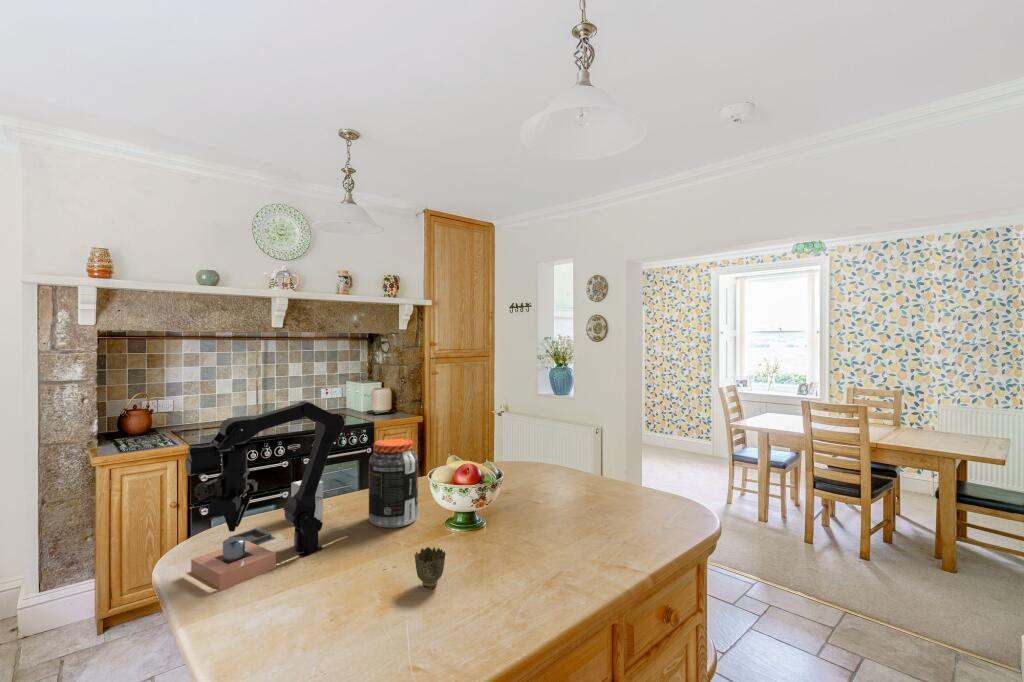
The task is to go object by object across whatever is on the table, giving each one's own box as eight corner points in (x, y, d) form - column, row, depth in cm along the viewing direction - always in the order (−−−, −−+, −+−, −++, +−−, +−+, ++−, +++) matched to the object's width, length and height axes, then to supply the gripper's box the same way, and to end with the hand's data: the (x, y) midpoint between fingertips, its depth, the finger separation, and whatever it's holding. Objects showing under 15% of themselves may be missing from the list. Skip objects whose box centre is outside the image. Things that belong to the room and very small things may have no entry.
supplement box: (302, 526, 159) (302, 486, 158) (290, 520, 163) (290, 482, 163) (323, 519, 165) (323, 481, 164) (311, 514, 169) (311, 477, 169)
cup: (431, 596, 117) (431, 562, 117) (407, 588, 121) (408, 555, 121) (451, 583, 124) (451, 551, 123) (428, 575, 127) (428, 544, 127)
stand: (276, 540, 147) (276, 534, 147) (242, 553, 139) (242, 545, 139) (257, 533, 153) (257, 526, 153) (223, 544, 145) (223, 537, 144)
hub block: (275, 568, 130) (275, 553, 130) (219, 591, 119) (220, 574, 119) (246, 554, 138) (246, 540, 138) (191, 575, 126) (191, 559, 126)
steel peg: (247, 566, 131) (247, 536, 131) (241, 575, 126) (241, 544, 126) (226, 568, 130) (226, 537, 130) (219, 577, 125) (219, 545, 125)
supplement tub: (425, 523, 162) (426, 443, 162) (378, 533, 154) (378, 449, 153) (406, 508, 176) (407, 435, 175) (361, 517, 167) (362, 440, 166)
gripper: (213, 460, 135) (213, 517, 136) (183, 480, 117) (183, 546, 117) (258, 458, 138) (257, 515, 138) (235, 478, 119) (235, 543, 120)
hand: (234, 529), depth 128 cm, fingers open, 3 cm apart
